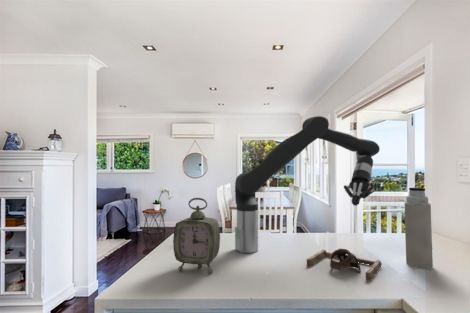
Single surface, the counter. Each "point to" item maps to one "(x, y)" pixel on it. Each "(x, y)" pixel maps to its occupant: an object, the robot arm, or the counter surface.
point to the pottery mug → (344, 260)
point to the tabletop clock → (196, 239)
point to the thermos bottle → (418, 230)
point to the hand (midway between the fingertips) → (354, 204)
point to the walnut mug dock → (370, 272)
